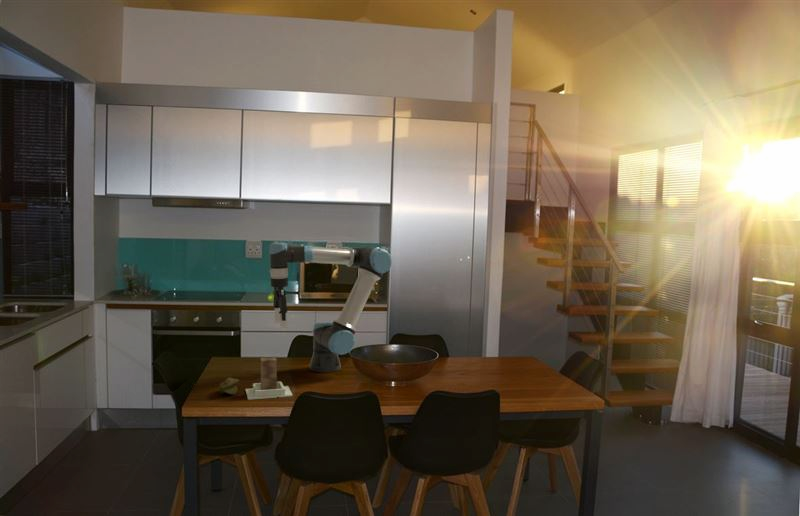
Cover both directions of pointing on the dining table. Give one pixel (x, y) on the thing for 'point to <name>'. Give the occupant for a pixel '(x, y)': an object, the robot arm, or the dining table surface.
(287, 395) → the holder plate
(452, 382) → the dining table surface
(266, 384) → the wooden square post
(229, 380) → the fruit
